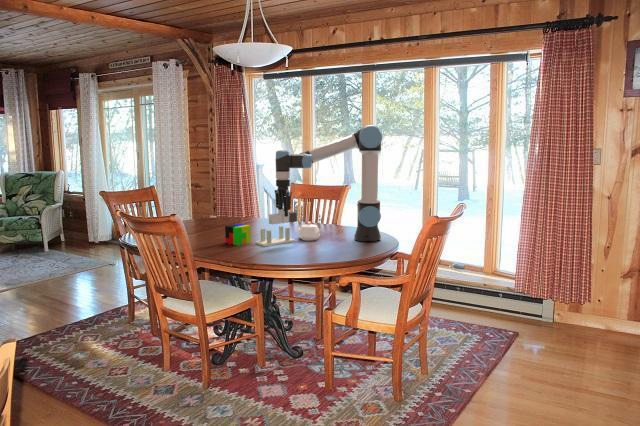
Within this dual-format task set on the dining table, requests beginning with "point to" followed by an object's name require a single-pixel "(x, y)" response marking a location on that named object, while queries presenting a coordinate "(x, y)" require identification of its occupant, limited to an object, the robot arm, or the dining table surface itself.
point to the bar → (279, 218)
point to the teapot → (309, 231)
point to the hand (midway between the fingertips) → (283, 221)
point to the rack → (276, 240)
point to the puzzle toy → (238, 234)
